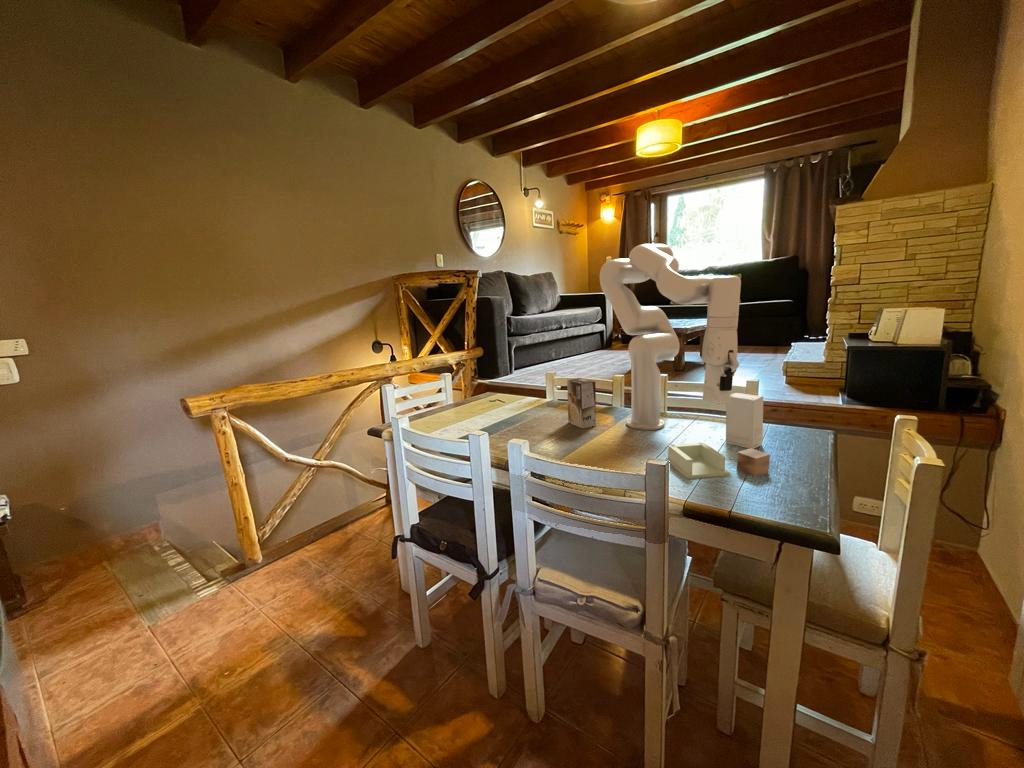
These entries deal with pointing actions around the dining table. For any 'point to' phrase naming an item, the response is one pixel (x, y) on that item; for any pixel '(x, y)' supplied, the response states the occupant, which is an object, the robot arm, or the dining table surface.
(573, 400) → the coffee box
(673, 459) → the u rest
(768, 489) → the dining table surface
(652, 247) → the robot arm
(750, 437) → the skincare box
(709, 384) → the skincare box
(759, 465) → the walnut block
